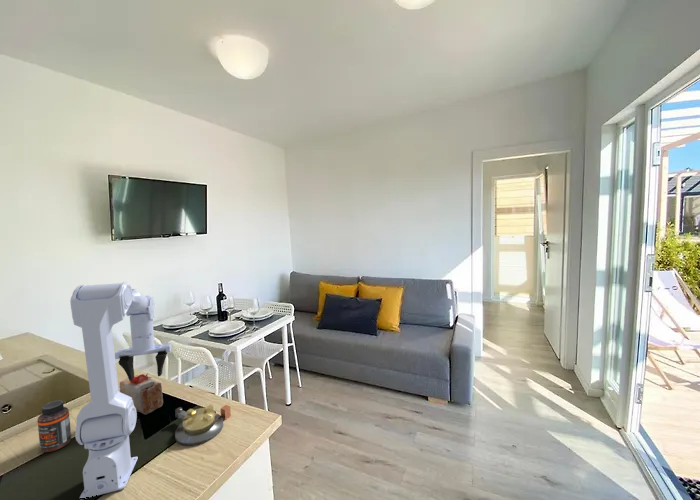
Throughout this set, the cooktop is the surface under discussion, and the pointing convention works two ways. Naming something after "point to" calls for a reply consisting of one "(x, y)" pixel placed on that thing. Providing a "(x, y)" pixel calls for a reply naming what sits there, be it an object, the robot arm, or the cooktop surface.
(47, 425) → the supplement bottle
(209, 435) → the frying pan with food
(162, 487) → the cooktop surface
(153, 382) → the food item
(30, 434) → the cooktop surface
